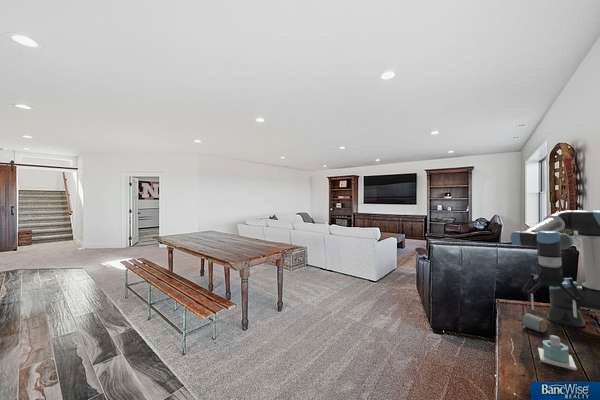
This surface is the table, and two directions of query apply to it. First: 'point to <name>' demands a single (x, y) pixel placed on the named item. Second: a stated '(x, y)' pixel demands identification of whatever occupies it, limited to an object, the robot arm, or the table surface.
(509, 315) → the table surface
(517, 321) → the table surface
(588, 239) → the robot arm
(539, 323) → the ceramic mug
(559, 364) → the plate with round peg
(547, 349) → the ring
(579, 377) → the table surface
